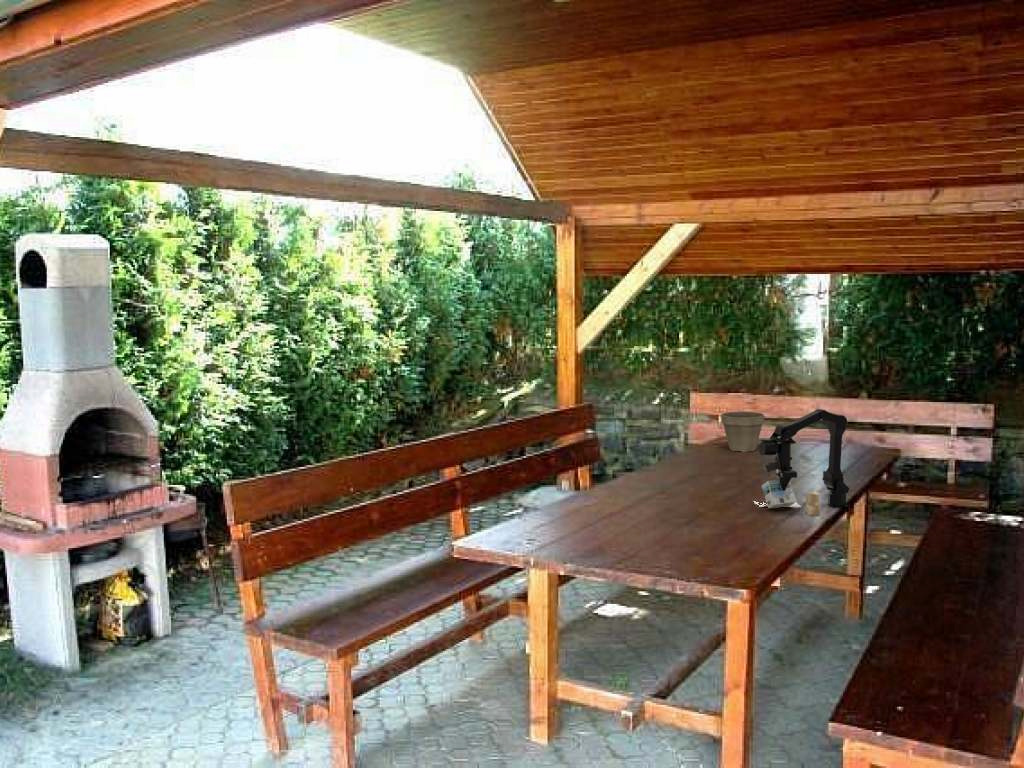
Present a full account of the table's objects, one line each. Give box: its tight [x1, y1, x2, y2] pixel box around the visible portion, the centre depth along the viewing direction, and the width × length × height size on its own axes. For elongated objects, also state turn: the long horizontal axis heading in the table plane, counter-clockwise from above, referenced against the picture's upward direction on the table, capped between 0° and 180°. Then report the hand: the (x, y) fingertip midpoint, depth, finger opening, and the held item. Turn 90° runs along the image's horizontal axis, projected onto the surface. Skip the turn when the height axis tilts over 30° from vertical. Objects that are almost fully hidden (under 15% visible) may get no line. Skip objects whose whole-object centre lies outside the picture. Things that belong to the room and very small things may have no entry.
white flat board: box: [752, 500, 803, 508], centre depth 394 cm, size 18×12×1 cm, turn 89°
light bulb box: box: [761, 479, 797, 509], centre depth 387 cm, size 11×7×11 cm
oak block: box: [805, 491, 820, 516], centre depth 375 cm, size 4×4×9 cm
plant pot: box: [720, 411, 765, 453], centre depth 534 cm, size 25×25×22 cm
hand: (783, 490), depth 384 cm, fingers closed
